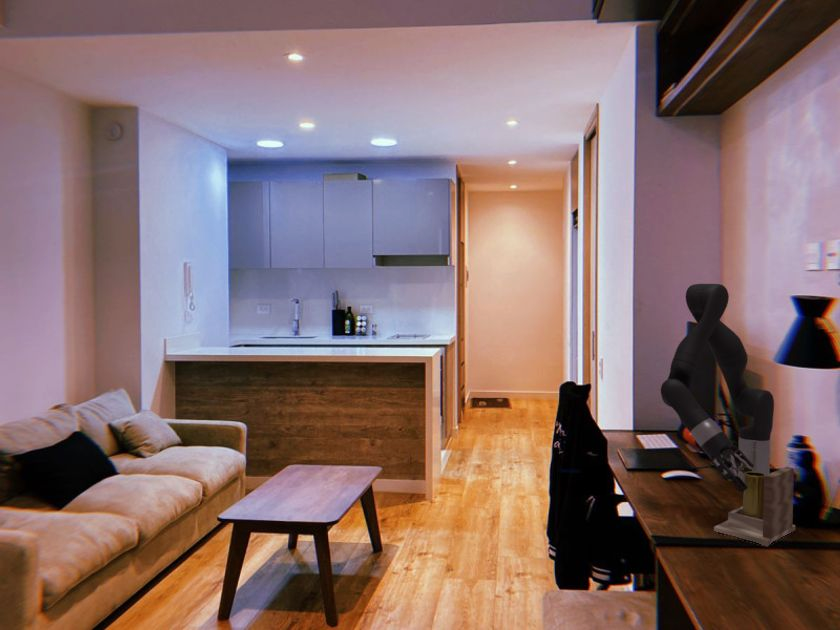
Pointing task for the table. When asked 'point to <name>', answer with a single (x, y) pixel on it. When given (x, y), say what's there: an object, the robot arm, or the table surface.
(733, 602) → the table surface
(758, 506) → the vase
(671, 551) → the table surface
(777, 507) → the post stand
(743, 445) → the robot arm
